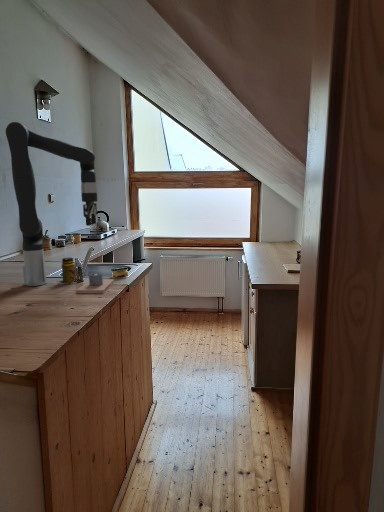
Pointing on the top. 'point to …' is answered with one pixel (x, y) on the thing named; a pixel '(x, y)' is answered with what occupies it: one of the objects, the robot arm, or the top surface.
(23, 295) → the top surface
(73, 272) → the condiment
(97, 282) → the hub
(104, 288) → the shaft stand
